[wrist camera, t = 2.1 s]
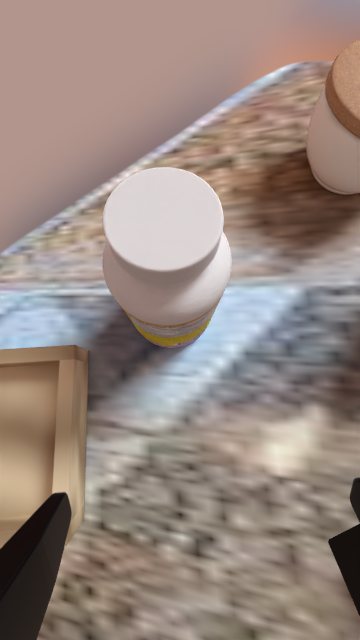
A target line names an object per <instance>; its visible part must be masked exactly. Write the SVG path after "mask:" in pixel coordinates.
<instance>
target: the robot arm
mask: <svg viewBox="0 0 360 640" xmlns="http://www.w3.org/2000/svg"><path fill="white" fill-rule="evenodd" d="M350 501H351V505H352V507H353V509H354V511H355V513H356V516H357V518H358V520H359V522H360V478H355V479H354V480H353V484H352V489H351V493H350ZM71 516H72V510H71V506H70V502H69V498H68V494H67V493H66V492H57V493H53V494H52V495H50V496H49V497H48V499H47V500H46V501H45V502H44V503H43V504H42V505H41V506H40V507H39V508H38V509H37V510H36V511H35V512H34V513H33V514H32V515H31V517H30V518H29V519H28V520H27V521H26V522H25V523H24V524H23V525H22V526H21V527H20V528H19V529H18V530H17V531H16V532H15V534H14V535H13V536H12V537H11V538H10V539H9V540H8V541H7V542H6V543H5V544H4V545H3V546H2V547H1V548H0V640H37V637H38V634H39V631H40V628H41V625H42V622H43V619H44V616H45V613H46V610H47V607H48V604H49V601H50V598H51V595H52V592H53V588H54V585H55V582H56V578H57V574H58V571H59V566H60V562H61V558H62V554H63V550H64V546H65V542H66V538H67V534H68V530H69V526H70V522H71Z"/></svg>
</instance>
